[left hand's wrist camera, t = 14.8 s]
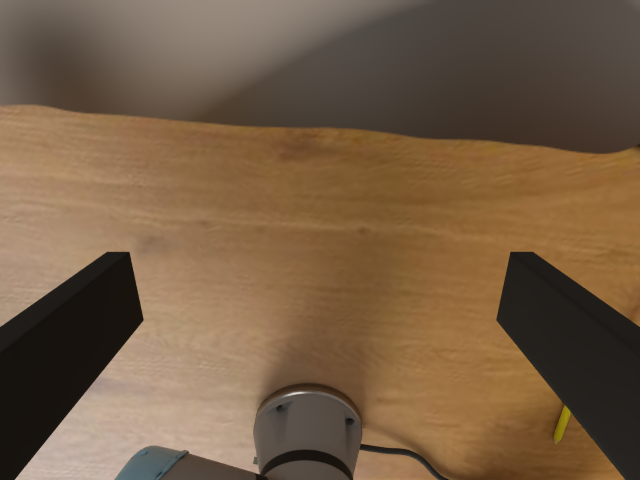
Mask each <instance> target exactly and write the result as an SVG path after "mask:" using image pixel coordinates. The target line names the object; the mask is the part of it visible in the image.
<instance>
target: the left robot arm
mask: <svg viewBox="0 0 640 480" xmlns="http://www.w3.org/2000/svg"><path fill="white" fill-rule="evenodd" d="M143 320H144V319H143V315H142V310H141V305H140V300H139V295H138V291H137V286H136V281H135V276H134V272H133V267H132V262H131V257H130V252H106V253H105V254H103V255H102V256H101V257H99V258H98V259H96V260H95V261H94V262H92V263H91V264H89V265H88V266H86V267H85V268H84V269H82V270H81V271H79V272H78V273H76V274H75V275H74V276H72V277H71V278H69V279H68V280H67V281H65V282H64V283H62V284H61V285H59V286H58V287H57V288H55V289H54V290H52V291H51V292H49V293H48V294H47V295H45V296H44V297H42V298H41V299H39V300H38V301H37V302H35V303H34V304H32V305H31V306H30V307H28V308H27V309H25V310H24V311H22V312H21V313H20V314H18V315H17V316H15V317H14V318H12V319H11V320H10V321H8V322H7V323H5V324H4V325H3V326H1V327H0V480H15V479H16V477H17V476H18V475H19V474H20V472H21V471H22V470H23V469H24V467H25V466H26V465H27V464H28V462H29V461H30V460H31V459H32V458H33V456H34V455H35V454H36V453H37V451H38V450H39V449H40V448H41V446H42V445H43V444H44V443H45V441H46V440H47V439H48V438H49V437H50V435H51V434H52V433H53V432H54V430H55V429H56V428H57V427H58V425H59V424H60V423H61V422H62V420H63V419H64V418H65V417H66V416H67V414H68V413H69V412H70V411H71V409H72V408H73V407H74V406H75V404H76V403H77V402H78V401H79V399H80V398H81V397H82V396H83V394H84V393H85V392H86V391H87V390H88V388H89V387H90V386H91V385H92V383H93V382H94V381H95V380H96V378H97V377H98V376H99V375H100V373H101V372H102V371H103V370H104V369H105V367H106V366H107V365H108V364H109V362H110V361H111V360H112V359H113V357H114V356H115V355H116V354H117V352H118V351H119V350H120V349H121V348H122V346H123V345H124V344H125V343H126V341H127V340H128V339H129V338H130V336H131V335H132V334H133V333H134V331H135V330H136V329H137V328H138V326H139V325H140V324H141V323H142V322H143ZM496 320H497V322H498V323H499V324H500V325H501V326H502V328H503V329H504V330H505V331H506V333H507V334H508V335H509V336H510V338H511V339H512V340H513V341H514V343H515V344H516V345H517V346H518V348H519V349H520V350H521V351H522V352H523V354H524V355H525V356H526V357H527V359H528V360H529V361H530V362H531V364H532V365H533V366H534V367H535V369H536V370H537V371H538V372H539V373H540V375H541V376H542V377H543V378H544V380H545V381H546V382H547V383H548V385H549V386H550V387H551V388H552V390H553V391H554V392H555V393H556V394H557V396H558V397H559V398H560V399H561V401H562V402H563V403H564V404H565V406H566V407H567V408H568V409H569V411H570V412H571V413H572V414H573V416H574V417H575V418H576V419H577V420H578V422H579V423H580V424H581V425H582V427H583V428H584V429H585V430H586V432H587V433H588V434H589V435H590V437H591V438H592V439H593V440H594V441H595V443H596V444H597V445H598V446H599V448H600V449H601V450H602V451H603V453H604V454H605V455H606V456H607V458H608V459H609V460H610V461H611V462H612V464H613V465H614V466H615V467H616V469H617V470H618V471H619V472H620V474H621V475H622V476H623V477H624V479H625V480H640V327H639V326H637V325H636V324H635V323H633V322H632V321H630V320H629V319H628V318H626V317H625V316H623V315H622V314H620V313H619V312H618V311H616V310H615V309H613V308H612V307H610V306H609V305H608V304H606V303H605V302H603V301H602V300H600V299H599V298H598V297H596V296H595V295H593V294H592V293H591V292H589V291H588V290H586V289H585V288H583V287H582V286H581V285H579V284H578V283H576V282H575V281H573V280H572V279H571V278H569V277H568V276H566V275H565V274H564V273H562V272H561V271H559V270H558V269H556V268H555V267H554V266H552V265H551V264H549V263H548V262H546V261H545V260H544V259H542V258H541V257H539V256H538V255H537V254H535V253H534V252H510V257H509V262H508V267H507V272H506V276H505V281H504V286H503V291H502V295H501V300H500V305H499V310H498V315H497V319H496ZM361 440H362V426H361V419H360V415H359V412H358V410H357V408H356V406H355V405H354V403H353V402H352V401H351V400H350V399H349V398H348V397H346V396H345V395H344V394H342V393H341V392H339V391H337V390H335V389H333V388H330V387H327V386H323V385H317V384H298V385H292V386H288V387H285V388H283V389H280V390H278V391H276V392H275V393H273V394H272V395H270V396H269V397H268V398H267V399H266V400H265V401H264V402H263V403H262V405H261V406H260V408H259V410H258V412H257V415H256V420H255V425H254V442H255V448H256V454H257V457H254V462H253V464H257V465H258V466H259V472H260V475H259V474H256V473H253V472H250V471H246V470H243V469H240V468H236V467H233V466H229V465H226V464H223V463H219V462H216V461H212V460H209V459H206V458H202V457H199V456H195V455H192V454H189V451H186V450H183V451H178V450H173V449H169V448H164V447H160V446H149V447H146V448H143V449H142V450H140V451H139V452H137V453H136V454H135V455H134V456H133V457H132V458H131V459H130V460H129V461H128V463H127V464H126V465H125V466H124V467H123V469H122V470H121V471H120V473H119V474H118V476H117V477H116V478H115V480H353V474H354V470H355V466H356V461H357V457H358V453H359V450H364V451H371V452H377V453H384V454H399V455H407V456H410V457H413V458H415V459H417V460H418V461H419V462H421V463H422V464H423V465H424V466H425V467H426V468H427V469H428V470H429V472H430V473H431V474H432V475H433V476H434V477H436V478H437V479H438V480H448V479H446V478H444V477H443V476H441V475H440V474H439V473H437V472H436V471H435V470H434V468H433V467H432V466H431V465H430V464H429V463H428V462H427V461H426V460H425V459H424V458H423V457H421V456H420V455H418V454H417V453H415V452H412V451H410V450H406V449H397V448H384V447H377V446H371V445H364V444H361Z"/></svg>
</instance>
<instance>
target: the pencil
mask: <svg viewBox="0 0 640 480" xmlns="http://www.w3.org/2000/svg"><path fill="white" fill-rule="evenodd" d="M570 415H571V412H570V411H569V409H568V408H567V407H566V406H565V405H564V408H563V410H562V413H561V416H560V419H559V421H558V424H557V427H556V430H555V432H554V435H553V436H554V444H556V443H558V442H559V441H560V440H561V439H562V436H563V433H564V431H565V428H566V425H567V423H568V420H569V417H570Z"/></svg>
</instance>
